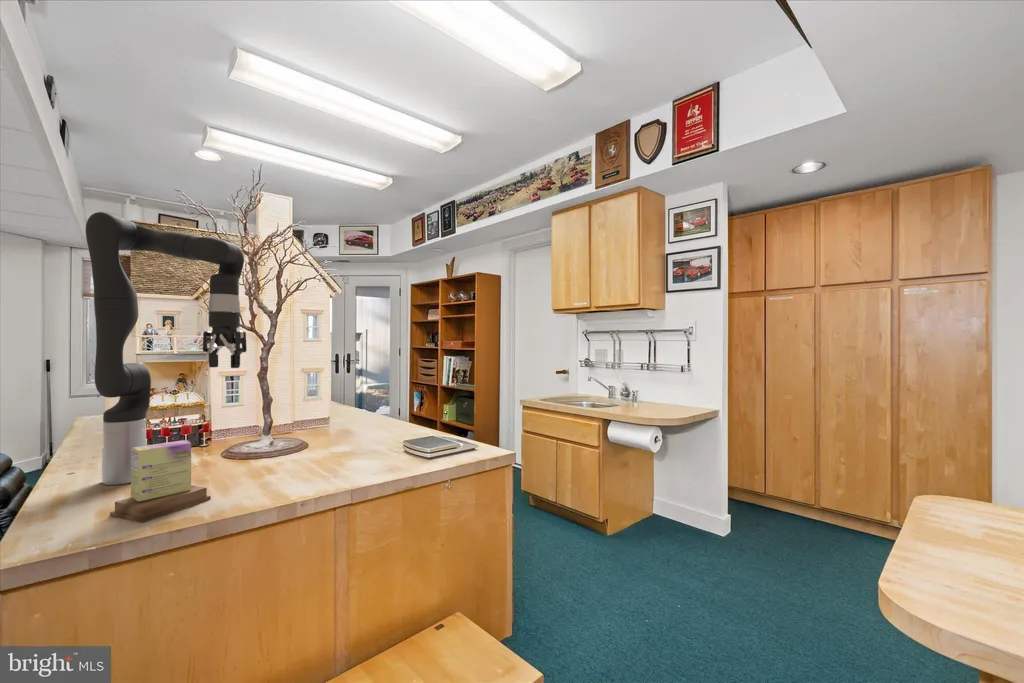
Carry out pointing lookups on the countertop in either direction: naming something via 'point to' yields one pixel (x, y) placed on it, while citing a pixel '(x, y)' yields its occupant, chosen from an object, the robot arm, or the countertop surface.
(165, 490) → the box
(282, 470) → the countertop surface
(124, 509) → the plinth
